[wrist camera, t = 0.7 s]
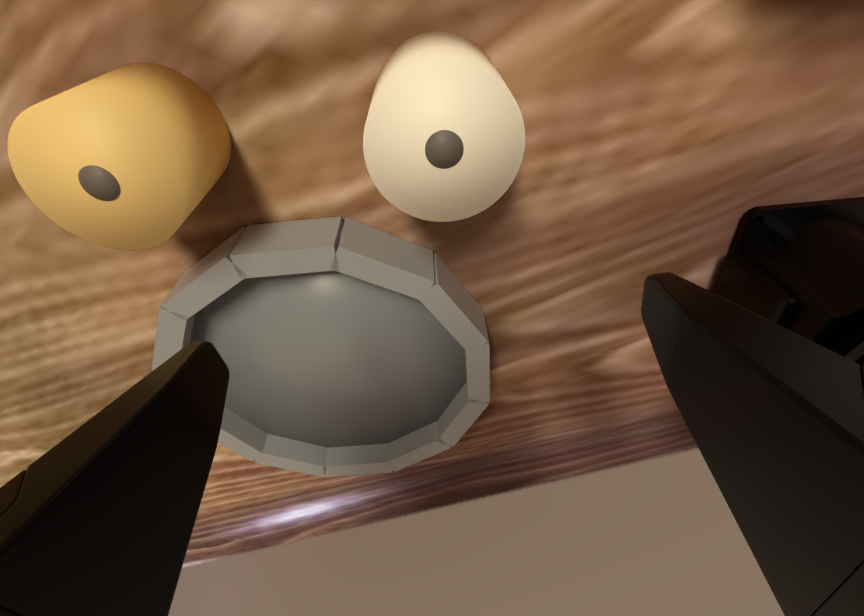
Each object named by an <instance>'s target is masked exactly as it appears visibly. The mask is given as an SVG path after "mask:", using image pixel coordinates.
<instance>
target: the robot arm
mask: <svg viewBox="0 0 864 616" xmlns="http://www.w3.org/2000/svg"><path fill="white" fill-rule="evenodd" d="M758 216H759V217H758ZM756 217H758V219H756V220H755V221H753V220H754V219H755V218H756ZM641 314H642V319H643V322H644V325H645V327H646V330H647V333H648V336H649V338H650V341H651V344H652V347H653V349H654V352H655V355H656V358H657V360H658V363H659V366H660V369H661V371H662V374H663V377H664V379H665V382H666V384H667V386H668V389H669V391H670V393H671V395H672V397H673V399H674V401H675V403H676V405H677V407H678V409H679V411H680V412H681V414H682V416H683V418H684V420H685V422H686V424H687V426H688V428H689V430H690V432H691V434H692V436H693V438H694V440H695V442H696V444H697V446H698V448H699V449H700V451H701V453H702V455H703V457H704V459H705V461H706V463H707V465H708V467H709V469H710V471H711V473H712V475H713V477H714V478H715V480H716V483H717V484H718V486H719V488H720V490H721V492H722V494H723V496H724V498H725V500H726V502H727V504H728V506H729V508H730V510H731V512H732V514H733V515H734V518H735V520H736V521H737V524H738V525H739V527H740V529H741V531H742V533H743V535H744V537H745V539H746V541H747V543H748V545H749V547H750V549H751V551H752V552H753V555H754V557H755V559H756V561H757V562H758V564H759V566H760V568H761V570H762V572H763V574H764V576H765V578H766V580H767V582H768V584H769V586H770V588H771V590H772V592H773V594H774V596H775V597H776V600H777V601H778V603H779V605H780V607H781V609H782V611H783V613H784V615H785V616H864V197H858V198H847V199H836V200H825V201H814V202H803V203H792V204H781V205H770V206H759V207H754V208H752V209H750V210H748V211H747V212H746V213H745V215H744V216H743V219H742V221H741V224H740V226H739V229H738V232H737V234H736V237H735V240H734V242H733V245H732V247H731V250H730V253H729V255H728V257H727V259H726V262H725V265H724V267H723V270H722V272H721V275H720V278H719V280H718V283H717V286H716V288H715V291H714V293H712V292H710V291H708V290H706V289H704V288H702V287H700V286H698V285H696V284H694V283H692V282H690V281H688V280H686V279H684V278H682V277H679V276H677V275H675V274H673V273H671V272H664V273H657V274H651V275H649V276H647V277H646V279H645V283H644V291H643V298H642V306H641ZM228 383H229V369H228V366H227V365H226V363H225V362H224V360H223V359H222V357H221V356H220V354H219V353H218V351H217V350H216V348H215V347H214V345H213V344H212V343H211V342H209V341H200V342H194V343H190V344H187V345H186V346H185V347H183V348H182V349H181V350H179V351H178V352H177V353H176V354H174V355H173V356H172V357H170V358H169V359H168V360H166V361H165V362H164V363H163V364H161V365H160V366H159V367H157V368H156V369H155V370H153V371H152V372H151V373H150V374H148V375H147V376H146V377H144V378H143V379H142V380H140V381H139V382H138V383H137V384H135V385H134V386H133V387H131V388H130V389H129V390H127V391H126V392H125V393H123V394H122V395H121V396H120V397H118V398H117V399H116V400H114V401H113V402H112V403H110V404H109V405H108V406H107V407H105V408H104V409H103V410H101V411H100V412H99V413H97V414H96V415H95V416H94V417H92V418H91V419H90V420H88V421H87V422H86V423H84V424H83V425H82V426H80V427H79V428H78V429H77V430H75V431H74V432H73V433H71V434H70V435H69V436H67V437H66V438H65V439H64V440H62V441H61V442H60V443H58V444H57V445H56V446H54V447H53V448H52V449H51V450H49V451H48V452H47V453H45V454H44V455H43V456H41V457H40V458H39V459H38V460H36V461H35V462H34V463H32V464H31V465H30V466H28V468H27V470H23V471H22V472H20V473H19V474H18V475H16V476H15V477H14V478H13V479H11V480H10V481H9V482H7V483H6V484H5V485H4V486H2V487H1V488H0V616H168V614H169V610H170V607H171V603H172V600H173V596H174V593H175V590H176V586H177V582H178V579H179V576H180V572H181V569H182V565H183V562H184V558H185V555H186V551H187V548H188V545H189V541H190V538H191V534H192V531H193V527H194V524H195V520H196V517H197V513H198V510H199V506H200V503H201V500H202V496H203V493H204V489H205V486H206V482H207V479H208V475H209V472H210V468H211V465H212V461H213V458H214V455H215V451H216V447H217V443H218V439H219V434H220V430H221V424H222V418H223V412H224V406H225V401H226V395H227V389H228Z"/></svg>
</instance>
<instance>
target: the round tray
mask: <svg viewBox="0 0 864 616" xmlns="http://www.w3.org/2000/svg"><path fill="white" fill-rule="evenodd" d="M200 341H209V342H211V343H212V344H213V345H214V347H215V348H216V350H217V351H218V353H219V354H220V356H221V357H222V359H223V360H224V362H225V363H226V365H227V366H228V369H229V383H228V389H227V395H226V401H225V406H224V412H223V418H222V424H221V430H220V434H219V439H218V443H220V444H222V445H224V446H225V447H227V448H229V449H231V450H232V451H234V452H236V453H238V454H239V455H241V456H243V457H245V458H246V459H248V460H250V461H253V460H255V462H254V463H259V464H264V465H269V466H273V467H278V468H283V469H287V470H292V471H297V472H301V473H306V474H311V475H316V476H320V477H323V476H324V474H325V476H326V477H336V476H350V475H364V474H377V473H391V472H393V470H394V471H395V472H396V471H398V470H401V469H403V468H406V467H408V466H410V465H413V464H415V463H417V462H420V461H422V460H424V459H427V458H429V457H431V456H434V455H436V454H439V453H441V452H443V451H446V450H448V449H450V448H452V446H455V445H456V443H457V442H458V441H459V440H460V439H461V437H462V436H463V435H464V434H465V433H466V431H467V430H468V429H469V428H470V427H471V425H472V424H473V423H474V422H475V421H476V419H477V418H478V417H479V416H480V414H481V413H482V412H483V411H484V410H485V408H486V407H487V406H488V405H489V402H490V347H489V339H488V334H487V328H486V323H485V317H484V312H483V309H482V308H481V306H480V305H479V304H478V303H477V302H476V300H475V299H474V298H473V297H472V296H471V294H470V293H469V292H468V291H467V290H466V288H465V287H464V286H463V285H462V283H461V282H460V281H459V280H458V279H457V277H456V276H455V275H454V274H453V273H452V271H451V270H450V269H449V268H448V267H447V265H446V264H445V263H444V262H443V260H442V259H441V258H440V257H439V256H438V254H437V253H434V254H433V250H431V249H428V248H425V247H423V246H420V245H418V244H415V243H412V242H410V241H407V240H405V239H402V238H399V237H397V236H394V235H392V234H389V233H386V232H384V231H381V230H379V229H376V228H373V227H371V226H368V225H366V224H363V223H360V222H358V221H355V220H353V219H350V218H347V217H346V218H345V221H344V222H343V220H342V216H340V217H329V218H318V219H307V220H297V221H286V222H275V223H264V224H254V225H247V226H246V228H245V227H242V228H241V229H240V230H238V231H237V232H236V233H234V234H233V235H232V236H231V237H229V238H228V239H227V240H225V241H224V242H223V243H222V244H220V245H219V246H218V247H216V248H215V249H214V250H212V251H211V252H210V253H209V254H207V255H206V256H205V257H203V258H202V259H201V260H199V261H198V262H197V263H196V264H194V265H193V266H192V267H190V268H189V269H188V270H186V271H185V272H184V273H183V274H182V276H181V277H180V279H179V280H178V282H177V283H176V284H175V286H174V287H173V289H172V290H171V292H170V293H169V294H168V296H167V297H166V299H165V300H164V302H163V303H162V305H161V306H160V308H159V314H158V322H157V331H156V339H155V348H154V356H153V364H152V370H155V369H156V368H157V367H159V366H160V365H161V364H163V363H164V362H165V361H166V360H168V359H169V358H170V357H172V356H173V355H174V354H176V353H177V352H178V351H179V350H181V349H182V348H183V347H185V346H186V345H187V344H190V343H194V342H200Z"/></svg>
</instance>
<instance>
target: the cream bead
mask: <svg viewBox="0 0 864 616" xmlns="http://www.w3.org/2000/svg"><path fill="white" fill-rule="evenodd" d="M524 148H525V129H524V122H523V118H522V115H521V112H520V109H519V107H518V105H517V102H516V100H515V99H514V97H513V95H512V94H511V92H510V90H509V89H508V87H507V86H506V84H505V82H504V81H503V79H502V77H501V76H500V74H499V73H498V71H497V69H496V68H495V66H494V64H493V63H492V61H491V60H490V58H489V57H488V55H487V54H486V53H485V52H484V51H483V50H482V49H481V48H480V47H479V46H478V45H477V44H476V43H474V42H473V41H471V40H470V39H468V38H466V37H464V36H462V35H459V34H456V33H452V32H446V31H432V32H426V33H422V34H419V35H416V36H414V37H412V38H410V39H408V40H406V41H405V42H404V43H402V44H401V45H399V46H398V47H397V48H396V49H395V50H394V51H393V52H392V53H391V55H390V56H389V57H388V59H387V60H386V62H385V63H384V65H383V67H382V69H381V71H380V74H379V76H378V80H377V83H376V87H375V90H374V94H373V98H372V101H371V105H370V109H369V112H368V116H367V120H366V123H365V128H364V135H363V150H364V158H365V162H366V166H367V169H368V172H369V174H370V177H371V179H372V180H373V182H374V184H375V186H376V187H377V189H378V190H379V191H380V193H381V194H382V195H383V196H384V197H385V198H386V199H387V200H388V201H389V202H390V203H391V204H392V205H394V206H395V207H396V208H398V209H399V210H401V211H403V212H404V213H406V214H408V215H411V216H413V217H416V218H419V219H422V220H427V221H434V222H451V221H457V220H462V219H465V218H469V217H471V216H474V215H476V214H478V213H480V212H482V211H484V210H486V209H487V208H488V207H490V206H491V205H493V204H494V203H495V202H496V201H497V200H498V199H499V198H501V197H502V195H503V194H504V193H505V192H506V191H507V190H508V188H509V187H510V185H511V184H512V182H513V181H514V179H515V177H516V175H517V173H518V171H519V168H520V166H521V163H522V159H523V155H524Z"/></svg>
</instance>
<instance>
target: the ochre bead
mask: <svg viewBox="0 0 864 616" xmlns="http://www.w3.org/2000/svg"><path fill="white" fill-rule="evenodd" d="M8 154H9V160H10V163H11V166H12V169H13V172H14V174H15V176H16V178H17V180H18V182H19V184H20V185H21V187H22V188H23V190H24V191H25V193H26V194H27V195H28V197H29V198H30V199H31V200H32V202H33V203H34V204H35V205H36V206H37V207H38V208H39V209H40V210H41V211H42V212H43V213H44V214H45V215H46V216H48V217H49V218H50V219H51V220H53V221H54V222H55V223H56V224H58V225H59V226H61V227H62V228H64V229H65V230H67V231H68V232H70V233H72V234H74V235H76V236H77V237H79V238H82V239H84V240H86V241H88V242H91V243H94V244H96V245H99V246H103V247H107V248H111V249H117V250H126V251H136V250H144V249H149V248H153V247H156V246H158V245H160V244H162V243H164V242H165V241H167V240H168V239H169V238H170V237H171V236H172V235H173V234H174V233H175V232H176V231H177V230H178V228H179V227H180V226H181V225H182V223H183V222H184V221H185V220H186V219H187V217H188V216H189V215H190V214H191V212H192V211H193V210H194V209H195V208H196V206H197V205H198V204H199V203H200V201H201V200H202V199H203V198H204V197H205V195H206V194H207V193H208V192H209V190H210V189H211V188H212V187H213V186H214V184H215V183H216V182H217V181H218V179H219V178H220V177H221V176H222V174H223V173H224V172H225V170H226V168H227V166H228V164H229V160H230V156H231V139H230V134H229V130H228V127H227V124H226V122H225V119H224V117H223V115H222V114H221V112H220V110H219V108H218V107H217V106H216V104H215V103H214V101H213V100H212V99H211V98H210V97H209V96H208V94H207V93H206V92H205V91H204V90H203V89H202V88H200V87H199V86H198V85H197V84H196V83H194V82H193V81H192V80H190V79H189V78H187V77H186V76H184V75H183V74H181V73H179V72H177V71H175V70H173V69H170V68H167V67H164V66H161V65H157V64H151V63H133V64H128V65H125V66H122V67H119V68H117V69H115V70H113V71H110V72H108V73H106V74H103V75H101V76H99V77H97V78H94V79H92V80H90V81H87V82H85V83H83V84H81V85H78V86H76V87H74V88H72V89H69V90H67V91H65V92H62V93H60V94H58V95H56V96H53V97H51V98H49V99H46V100H44V101H42V102H40V103H37V104H35V105H33V106H31V107H29V108H28V109H26V110H24V111H23V112H22V113H21V114H20V115H19V116H18V117H17V118H16V119H15V121H14V123H13V124H12V126H11V129H10V132H9V136H8Z"/></svg>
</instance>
